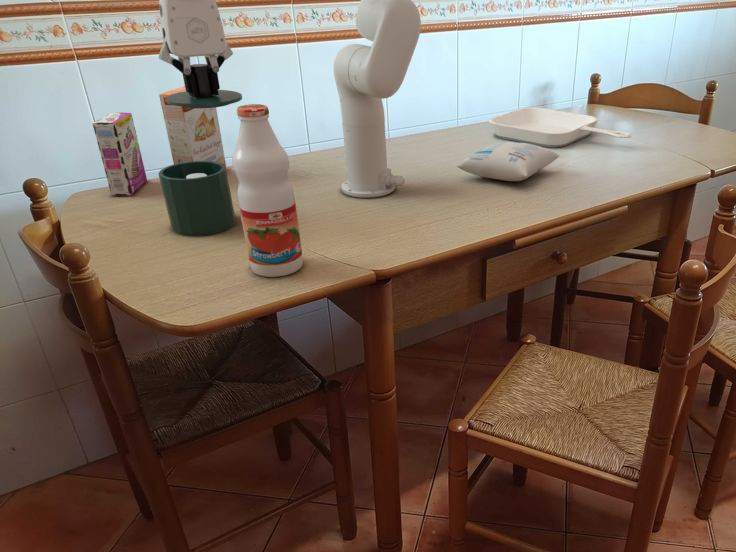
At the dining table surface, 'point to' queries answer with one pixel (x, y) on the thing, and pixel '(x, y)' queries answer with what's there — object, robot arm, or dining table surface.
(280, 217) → the fruit juice
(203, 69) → the lid
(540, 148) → the pouch
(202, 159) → the cracker box
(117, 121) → the candy bar box
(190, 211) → the pot
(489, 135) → the dining table surface
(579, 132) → the pan
